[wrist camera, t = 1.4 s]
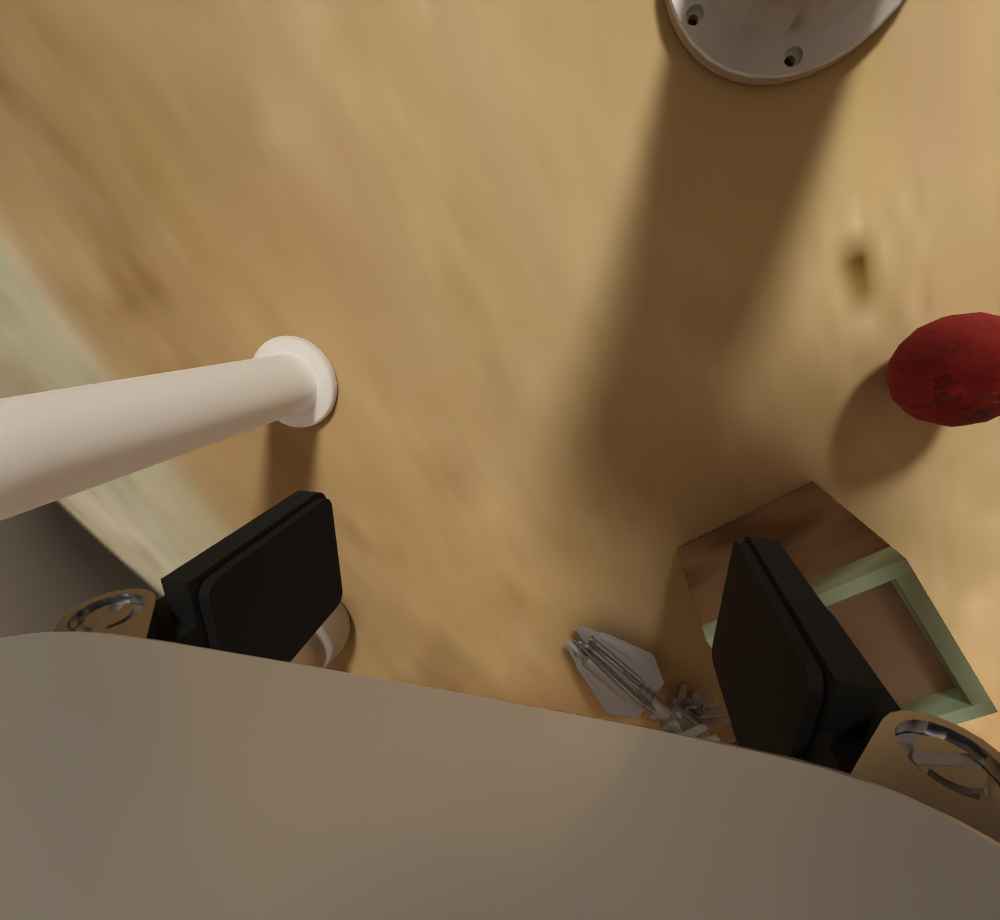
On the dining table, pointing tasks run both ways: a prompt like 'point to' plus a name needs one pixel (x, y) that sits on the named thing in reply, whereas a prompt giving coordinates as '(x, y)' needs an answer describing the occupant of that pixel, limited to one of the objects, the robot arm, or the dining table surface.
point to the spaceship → (637, 685)
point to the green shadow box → (851, 598)
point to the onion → (949, 370)
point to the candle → (152, 420)
